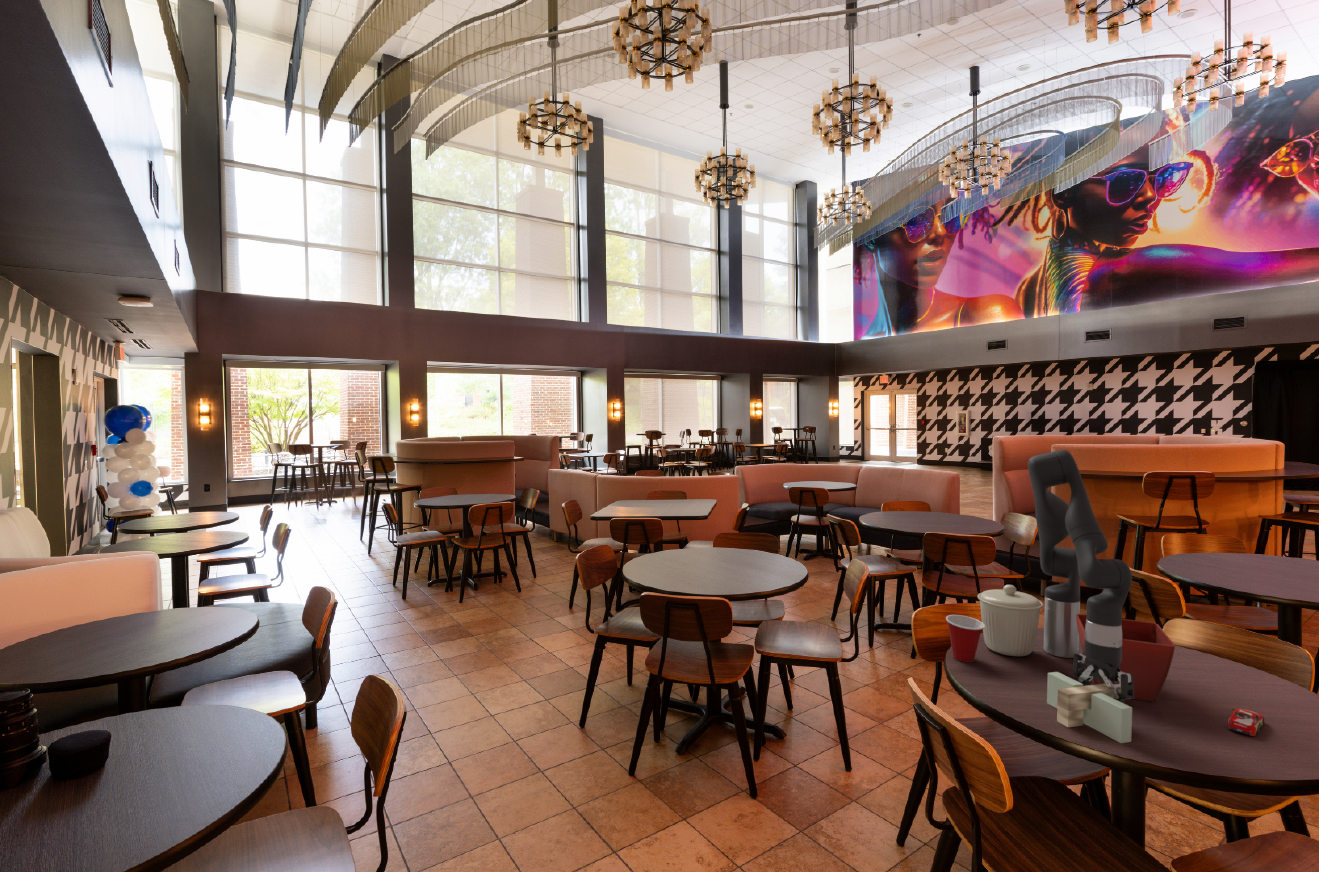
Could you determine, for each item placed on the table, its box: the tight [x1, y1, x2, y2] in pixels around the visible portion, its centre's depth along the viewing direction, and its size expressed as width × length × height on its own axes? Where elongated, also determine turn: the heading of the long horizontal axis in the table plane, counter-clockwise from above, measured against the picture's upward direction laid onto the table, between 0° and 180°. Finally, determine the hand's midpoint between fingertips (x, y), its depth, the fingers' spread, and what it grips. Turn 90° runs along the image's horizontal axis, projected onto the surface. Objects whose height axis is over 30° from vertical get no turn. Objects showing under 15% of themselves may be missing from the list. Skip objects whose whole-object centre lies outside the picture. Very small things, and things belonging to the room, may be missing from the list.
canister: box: [977, 584, 1044, 657], centre depth 195 cm, size 18×18×21 cm
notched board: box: [1046, 671, 1133, 744], centre depth 150 cm, size 20×3×8 cm, turn 13°
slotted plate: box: [1056, 684, 1115, 728], centre depth 150 cm, size 14×3×8 cm, turn 103°
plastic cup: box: [945, 614, 985, 663], centre depth 189 cm, size 11×11×12 cm
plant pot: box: [1076, 613, 1176, 703], centre depth 168 cm, size 19×19×17 cm
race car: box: [1227, 708, 1265, 737], centre depth 148 cm, size 13×5×4 cm, turn 126°
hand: (1101, 704), depth 151 cm, fingers open, 8 cm apart
